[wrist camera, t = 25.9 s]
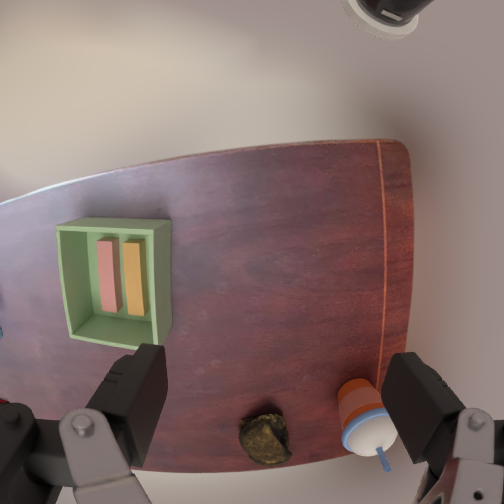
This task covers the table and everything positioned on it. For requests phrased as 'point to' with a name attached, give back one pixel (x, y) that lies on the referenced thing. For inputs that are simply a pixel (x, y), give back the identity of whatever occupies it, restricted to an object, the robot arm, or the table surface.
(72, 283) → the bin
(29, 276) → the table surface
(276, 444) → the seashell
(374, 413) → the cup with straw
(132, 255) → the mustard wooden beam
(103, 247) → the pink stick
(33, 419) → the robot arm
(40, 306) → the table surface
